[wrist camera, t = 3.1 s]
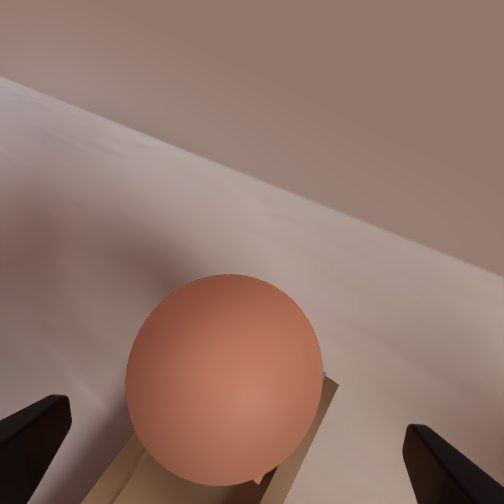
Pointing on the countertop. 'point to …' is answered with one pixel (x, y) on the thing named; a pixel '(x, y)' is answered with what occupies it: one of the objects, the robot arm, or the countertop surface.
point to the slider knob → (224, 380)
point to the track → (193, 494)
